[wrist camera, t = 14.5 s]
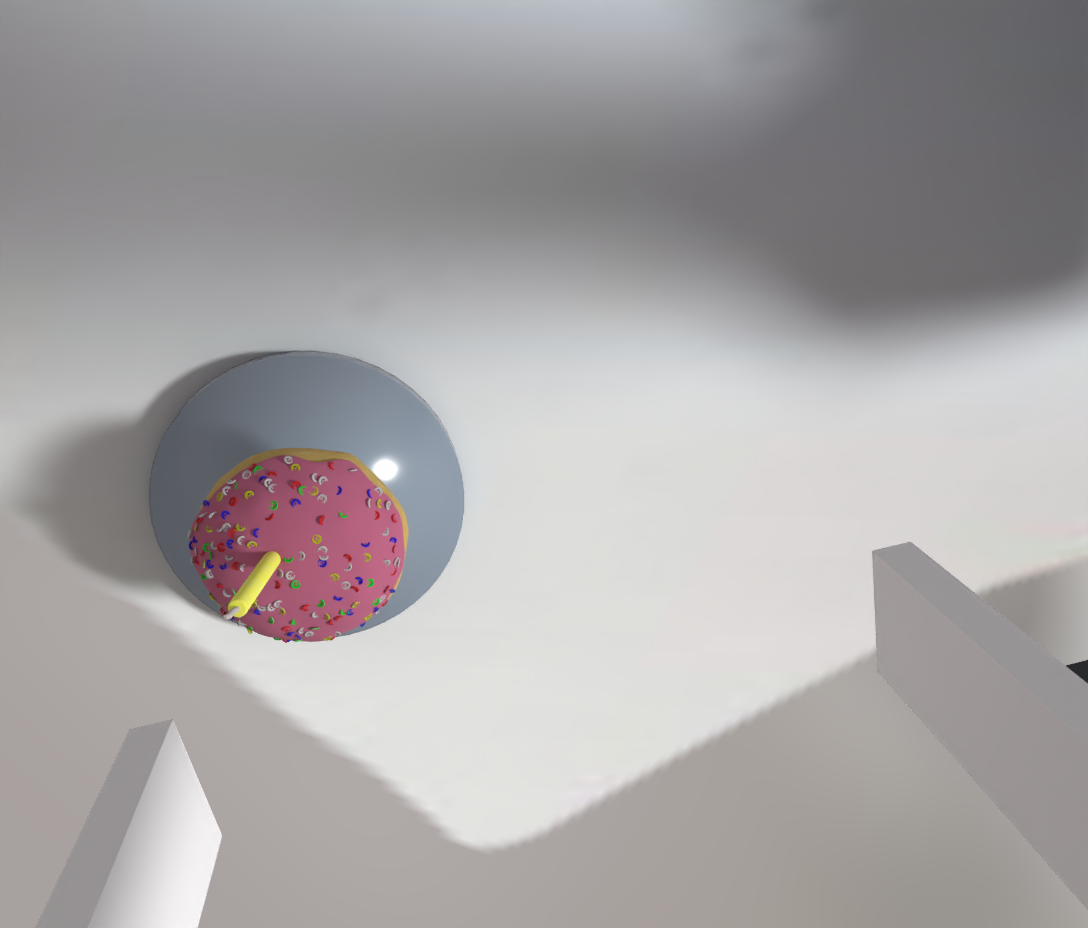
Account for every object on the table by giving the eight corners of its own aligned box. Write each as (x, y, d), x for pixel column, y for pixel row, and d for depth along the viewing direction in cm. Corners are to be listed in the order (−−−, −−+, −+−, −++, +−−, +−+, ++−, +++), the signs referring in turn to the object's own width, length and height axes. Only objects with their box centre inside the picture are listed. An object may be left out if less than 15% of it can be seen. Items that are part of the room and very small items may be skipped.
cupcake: (181, 538, 39) (101, 695, 28) (267, 380, 37) (219, 480, 26) (352, 613, 42) (341, 782, 31) (440, 469, 40) (462, 593, 29)
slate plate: (254, 289, 37) (250, 293, 36) (518, 452, 42) (521, 461, 41) (99, 542, 40) (91, 554, 39) (363, 670, 44) (362, 683, 43)
